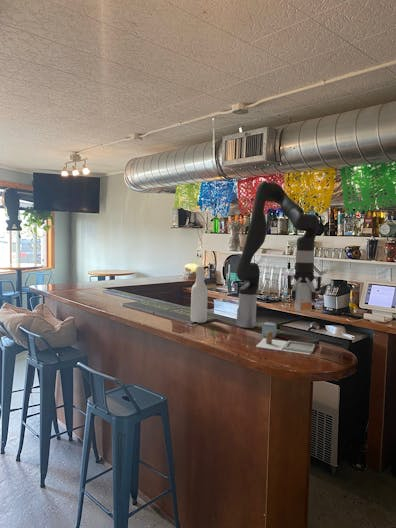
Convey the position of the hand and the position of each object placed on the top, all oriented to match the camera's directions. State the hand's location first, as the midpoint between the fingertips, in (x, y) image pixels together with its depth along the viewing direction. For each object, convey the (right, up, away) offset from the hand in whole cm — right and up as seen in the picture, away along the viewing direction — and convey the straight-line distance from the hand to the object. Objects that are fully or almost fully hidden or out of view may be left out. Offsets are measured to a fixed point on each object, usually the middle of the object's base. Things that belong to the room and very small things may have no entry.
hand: (303, 299), depth 169 cm
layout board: (-8, -21, -1) cm, 22 cm away
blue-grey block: (-12, -19, +15) cm, 27 cm away
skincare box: (0, -5, 0) cm, 5 cm away
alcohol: (-45, -16, +46) cm, 66 cm away
